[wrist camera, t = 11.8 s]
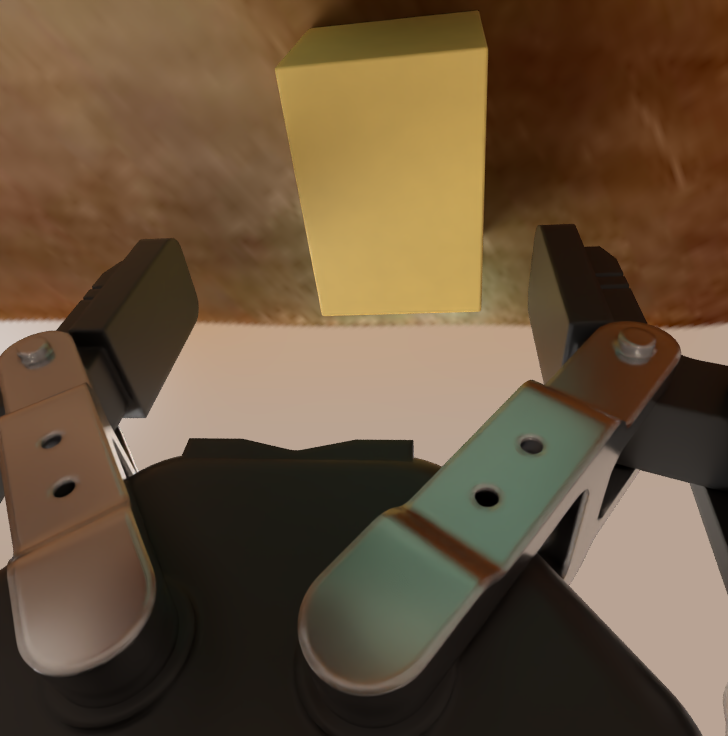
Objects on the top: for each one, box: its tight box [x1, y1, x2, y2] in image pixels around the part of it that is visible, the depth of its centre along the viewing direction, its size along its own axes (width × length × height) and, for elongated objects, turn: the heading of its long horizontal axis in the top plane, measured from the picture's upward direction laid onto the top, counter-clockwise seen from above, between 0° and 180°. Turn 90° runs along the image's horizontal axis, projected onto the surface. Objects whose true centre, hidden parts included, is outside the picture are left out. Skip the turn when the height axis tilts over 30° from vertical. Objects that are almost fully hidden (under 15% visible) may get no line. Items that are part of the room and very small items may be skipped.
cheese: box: [275, 11, 488, 316], centre depth 15 cm, size 4×6×4 cm
